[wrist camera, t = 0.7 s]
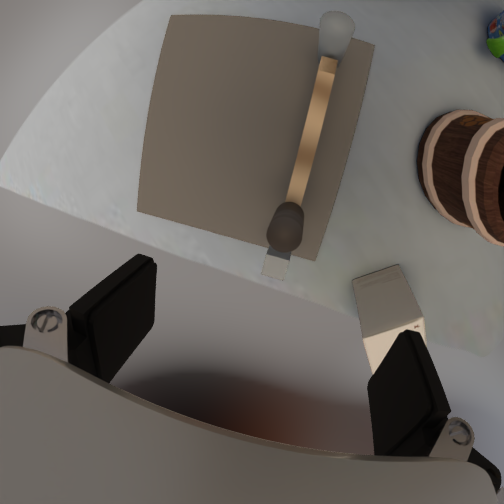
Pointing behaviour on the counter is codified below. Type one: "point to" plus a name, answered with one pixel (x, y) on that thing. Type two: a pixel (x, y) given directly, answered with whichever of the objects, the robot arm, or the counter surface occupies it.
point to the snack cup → (496, 36)
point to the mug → (465, 171)
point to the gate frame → (330, 45)
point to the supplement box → (385, 311)
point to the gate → (302, 166)
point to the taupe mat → (245, 126)
